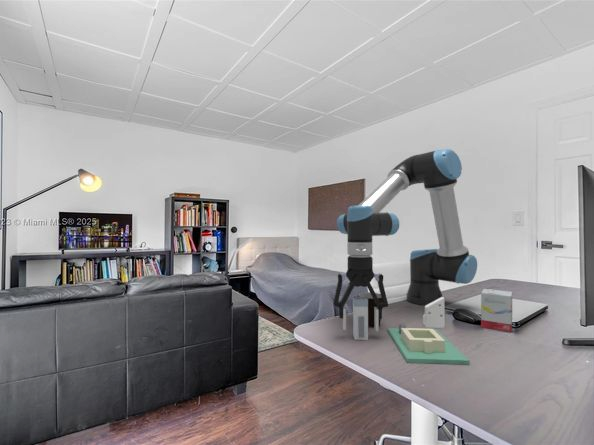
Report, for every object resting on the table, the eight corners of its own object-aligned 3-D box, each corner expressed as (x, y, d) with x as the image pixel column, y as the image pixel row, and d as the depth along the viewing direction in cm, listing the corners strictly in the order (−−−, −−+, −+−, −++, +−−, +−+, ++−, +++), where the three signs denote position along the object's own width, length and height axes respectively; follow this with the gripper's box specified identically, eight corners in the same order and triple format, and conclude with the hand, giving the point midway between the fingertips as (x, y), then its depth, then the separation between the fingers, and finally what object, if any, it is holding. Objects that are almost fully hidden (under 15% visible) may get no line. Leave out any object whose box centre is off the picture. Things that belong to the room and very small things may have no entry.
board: (387, 331, 97) (387, 318, 97) (435, 332, 95) (435, 319, 95) (407, 362, 75) (406, 346, 75) (469, 364, 73) (469, 348, 73)
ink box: (512, 332, 94) (511, 295, 94) (480, 327, 100) (480, 291, 100) (512, 325, 101) (512, 290, 101) (483, 320, 106) (482, 287, 107)
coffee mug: (386, 328, 99) (386, 298, 99) (360, 328, 99) (360, 298, 99) (377, 317, 111) (377, 290, 111) (354, 317, 111) (354, 290, 111)
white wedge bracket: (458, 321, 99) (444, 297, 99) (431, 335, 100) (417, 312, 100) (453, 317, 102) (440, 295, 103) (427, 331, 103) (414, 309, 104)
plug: (353, 334, 94) (352, 296, 94) (366, 335, 93) (365, 296, 93) (354, 340, 89) (354, 300, 89) (368, 340, 89) (368, 300, 89)
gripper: (324, 257, 89) (324, 332, 89) (399, 257, 87) (399, 334, 87) (324, 254, 96) (324, 324, 96) (393, 254, 94) (393, 325, 94)
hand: (360, 329), depth 91 cm, fingers open, 9 cm apart
